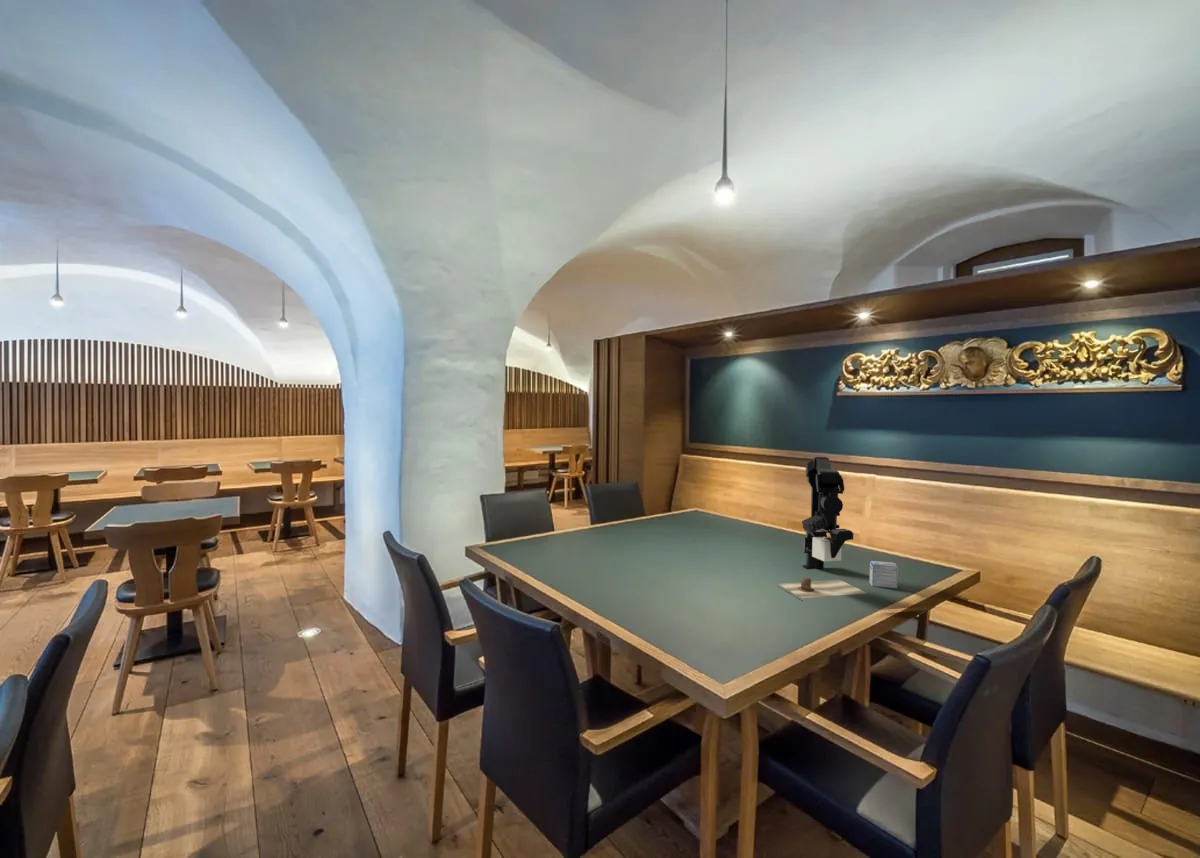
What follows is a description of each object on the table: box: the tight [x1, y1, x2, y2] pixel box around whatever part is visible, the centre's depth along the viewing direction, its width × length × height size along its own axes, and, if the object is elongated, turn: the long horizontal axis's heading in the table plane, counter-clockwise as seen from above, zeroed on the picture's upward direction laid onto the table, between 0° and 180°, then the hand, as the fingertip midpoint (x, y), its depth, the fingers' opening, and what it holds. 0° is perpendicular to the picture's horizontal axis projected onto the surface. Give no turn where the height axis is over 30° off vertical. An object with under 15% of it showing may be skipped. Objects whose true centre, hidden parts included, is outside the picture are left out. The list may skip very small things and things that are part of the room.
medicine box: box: [868, 560, 899, 589], centre depth 186 cm, size 8×4×9 cm, turn 74°
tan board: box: [777, 577, 867, 602], centre depth 182 cm, size 14×24×4 cm, turn 103°
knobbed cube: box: [812, 535, 843, 563], centre depth 182 cm, size 6×6×7 cm
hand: (826, 555), depth 182 cm, fingers closed on knobbed cube, 6 cm apart
